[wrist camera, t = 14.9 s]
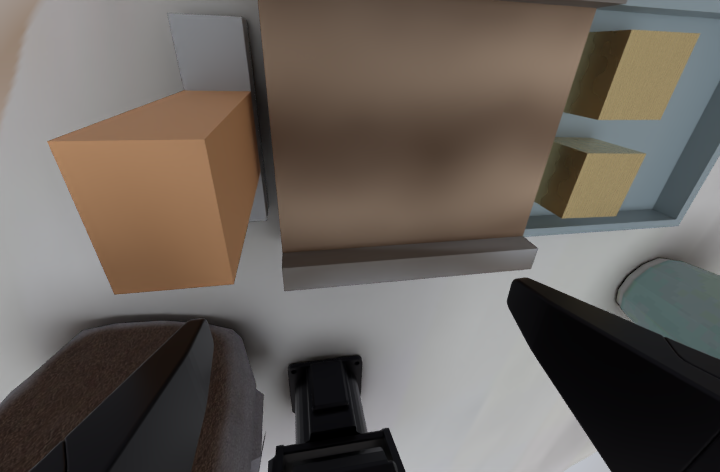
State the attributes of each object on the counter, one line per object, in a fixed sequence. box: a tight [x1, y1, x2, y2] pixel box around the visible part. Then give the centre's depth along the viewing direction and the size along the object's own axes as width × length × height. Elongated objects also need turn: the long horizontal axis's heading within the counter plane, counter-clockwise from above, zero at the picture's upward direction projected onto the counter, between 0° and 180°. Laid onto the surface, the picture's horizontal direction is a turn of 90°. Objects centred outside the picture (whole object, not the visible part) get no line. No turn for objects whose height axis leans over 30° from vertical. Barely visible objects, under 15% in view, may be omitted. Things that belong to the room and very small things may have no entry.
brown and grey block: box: [47, 13, 269, 295], centre depth 13 cm, size 10×3×12 cm, turn 177°
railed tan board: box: [258, 0, 627, 291], centre depth 17 cm, size 15×15×6 cm
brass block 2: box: [534, 137, 646, 219], centre depth 21 cm, size 4×4×4 cm
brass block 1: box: [563, 30, 701, 120], centre depth 18 cm, size 4×4×4 cm
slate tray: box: [523, 0, 720, 237], centre depth 21 cm, size 14×16×2 cm
